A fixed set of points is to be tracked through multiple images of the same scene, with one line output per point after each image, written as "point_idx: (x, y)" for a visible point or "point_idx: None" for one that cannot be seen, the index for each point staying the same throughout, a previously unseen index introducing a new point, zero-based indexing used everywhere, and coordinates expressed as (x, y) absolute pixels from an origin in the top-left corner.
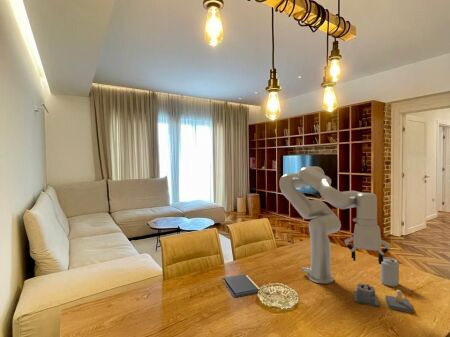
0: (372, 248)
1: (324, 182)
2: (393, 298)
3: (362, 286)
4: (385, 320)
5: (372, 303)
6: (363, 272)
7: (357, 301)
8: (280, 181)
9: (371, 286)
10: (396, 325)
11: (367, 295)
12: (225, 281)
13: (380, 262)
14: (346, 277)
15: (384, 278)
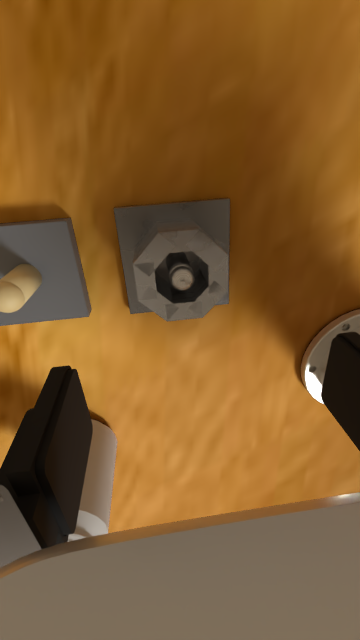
0: (166, 586)
1: None
2: (53, 301)
3: (197, 293)
4: (79, 65)
5: (146, 212)
6: (178, 473)
7: (216, 199)
8: None
9: (152, 306)
10: (20, 31)
11: (172, 227)
12: None
13: (57, 378)
14: (244, 411)
15: (97, 440)
